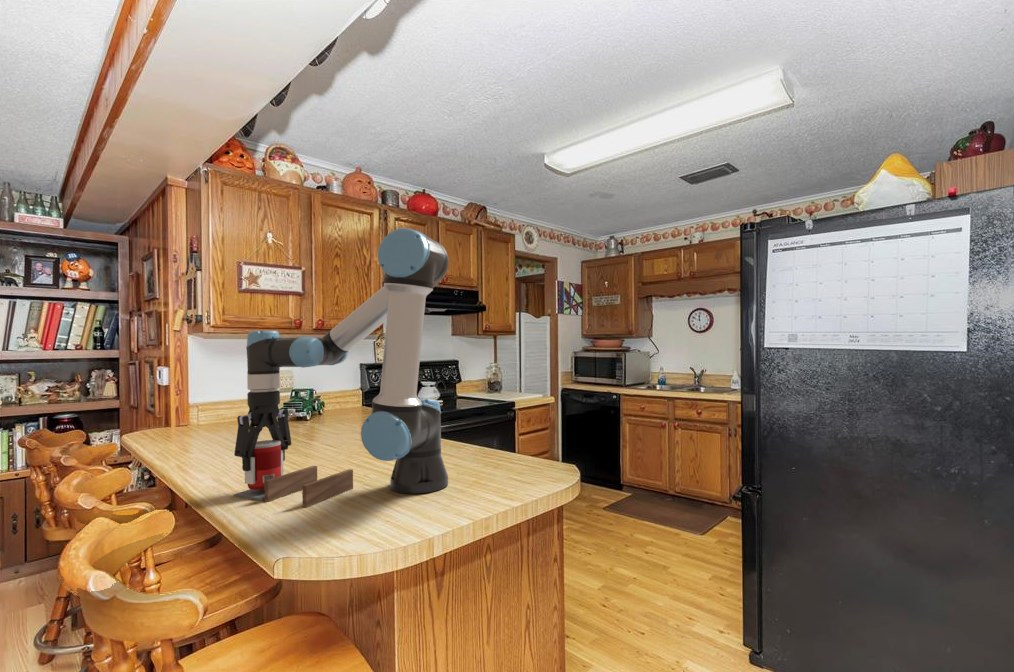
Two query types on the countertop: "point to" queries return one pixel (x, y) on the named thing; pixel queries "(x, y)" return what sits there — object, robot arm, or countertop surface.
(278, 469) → the canned food
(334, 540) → the countertop surface
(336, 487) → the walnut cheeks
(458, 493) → the countertop surface
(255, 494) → the slate mat
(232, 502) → the countertop surface
